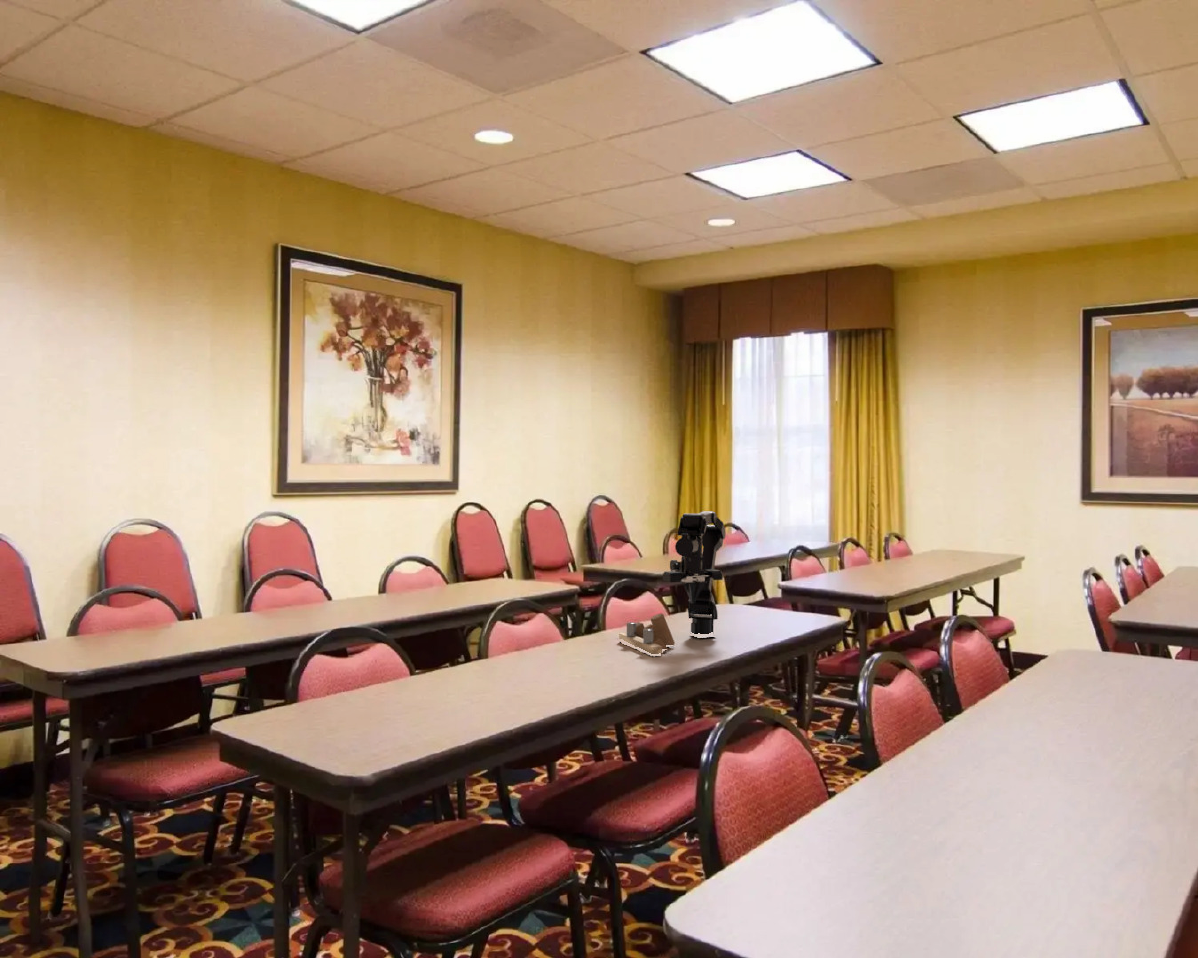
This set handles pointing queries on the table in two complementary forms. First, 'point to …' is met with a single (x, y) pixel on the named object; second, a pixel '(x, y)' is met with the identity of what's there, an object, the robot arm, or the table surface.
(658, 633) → the wooden block set
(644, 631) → the steel bench dogs
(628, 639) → the maple stop rail
